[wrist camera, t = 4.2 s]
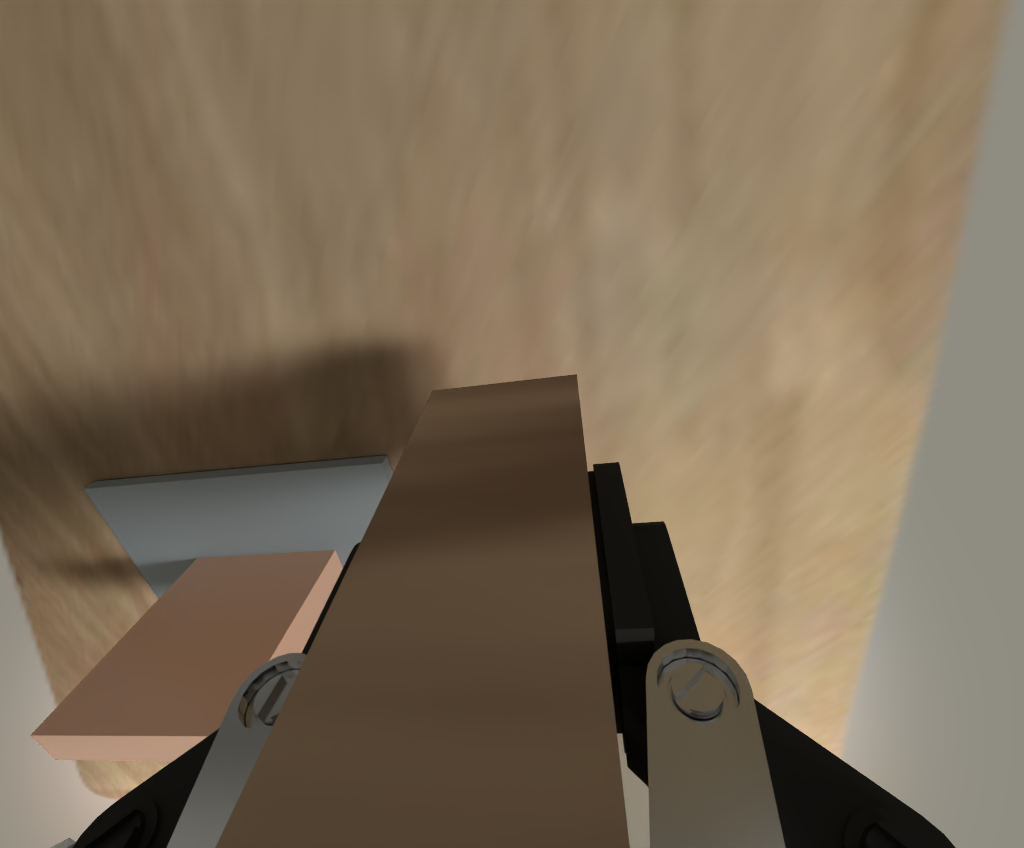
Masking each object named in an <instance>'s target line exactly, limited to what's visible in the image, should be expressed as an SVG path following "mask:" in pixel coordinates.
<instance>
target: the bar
mask: <svg viewBox="0 0 1024 848" xmlns="http://www.w3.org/2000/svg"><path fill="white" fill-rule="evenodd" d="M215 848H630V845H629V836H628V827H627V818H626V809H625V801H624V792H623V783H622V774H621V765H620V756H619V747H618V738H617V729H616V720H615V712H614V703H613V694H612V685H611V676H610V667H609V658H608V649H607V640H606V632H605V623H604V614H603V605H602V596H601V587H600V578H599V569H598V560H597V552H596V543H595V534H594V525H593V516H592V507H591V498H590V489H589V480H588V472H587V463H586V454H585V445H584V436H583V427H582V418H581V409H580V400H579V392H578V383H577V374H576V375H568V376H559V377H550V378H541V379H532V380H523V381H515V382H506V383H497V384H488V385H479V386H470V387H462V388H453V389H444V390H435V391H432V393H431V395H430V398H429V400H428V402H427V404H426V406H425V408H424V410H423V412H422V414H421V416H420V419H419V421H418V423H417V425H416V427H415V429H414V431H413V433H412V435H411V437H410V440H409V442H408V444H407V446H406V448H405V450H404V452H403V454H402V456H401V458H400V461H399V463H398V465H397V467H396V469H395V471H394V473H393V475H392V477H391V479H390V482H389V484H388V486H387V488H386V490H385V492H384V494H383V496H382V498H381V500H380V503H379V505H378V507H377V509H376V511H375V513H374V515H373V517H372V519H371V521H370V524H369V526H368V528H367V530H366V532H365V534H364V536H363V538H362V540H361V542H360V545H359V547H358V549H357V551H356V553H355V555H354V557H353V559H352V561H351V563H350V566H349V568H348V570H347V572H346V574H345V576H344V578H343V580H342V582H341V584H340V587H339V589H338V591H337V593H336V595H335V597H334V599H333V601H332V603H331V605H330V608H329V610H328V612H327V614H326V616H325V618H324V620H323V622H322V624H321V626H320V629H319V631H318V633H317V635H316V637H315V639H314V641H313V643H312V645H311V647H310V650H309V652H308V654H307V656H306V658H305V660H304V662H303V664H302V666H301V668H300V671H299V673H298V675H297V677H296V679H295V681H294V683H293V685H292V687H291V689H290V692H289V694H288V696H287V698H286V700H285V702H284V704H283V706H282V708H281V710H280V713H279V715H278V717H277V719H276V721H275V723H274V725H273V727H272V729H271V731H270V734H269V736H268V738H267V740H266V742H265V744H264V746H263V748H262V750H261V752H260V755H259V757H258V759H257V761H256V763H255V765H254V767H253V769H252V771H251V773H250V776H249V778H248V780H247V782H246V784H245V786H244V788H243V790H242V792H241V795H240V797H239V799H238V801H237V803H236V805H235V807H234V809H233V811H232V813H231V816H230V818H229V820H228V822H227V824H226V826H225V828H224V830H223V832H222V834H221V837H220V839H219V841H218V843H217V845H216V847H215Z"/></svg>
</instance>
